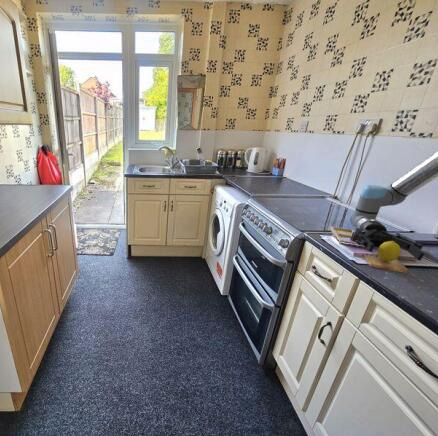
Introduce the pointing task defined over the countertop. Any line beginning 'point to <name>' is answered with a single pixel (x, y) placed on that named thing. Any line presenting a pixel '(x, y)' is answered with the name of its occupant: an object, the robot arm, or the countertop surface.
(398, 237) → the robot arm
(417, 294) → the countertop surface
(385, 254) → the lemon
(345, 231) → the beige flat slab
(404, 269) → the board
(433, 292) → the countertop surface
